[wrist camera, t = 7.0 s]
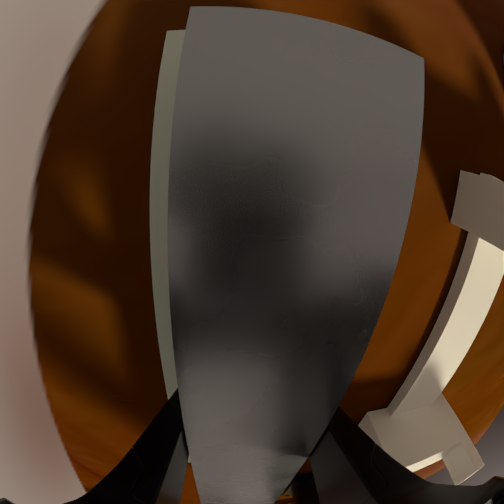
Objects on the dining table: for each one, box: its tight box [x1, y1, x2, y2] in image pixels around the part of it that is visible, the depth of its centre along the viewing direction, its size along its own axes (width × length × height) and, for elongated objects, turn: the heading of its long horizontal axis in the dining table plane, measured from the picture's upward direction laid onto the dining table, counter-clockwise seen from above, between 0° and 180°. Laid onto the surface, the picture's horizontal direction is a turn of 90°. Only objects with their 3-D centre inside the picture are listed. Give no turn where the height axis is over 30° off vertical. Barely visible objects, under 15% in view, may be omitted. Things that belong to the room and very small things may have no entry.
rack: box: [358, 170, 504, 485], centre depth 8 cm, size 18×7×8 cm, turn 174°
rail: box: [167, 6, 424, 504], centre depth 8 cm, size 20×4×4 cm, turn 174°
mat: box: [150, 30, 191, 463], centre depth 11 cm, size 23×7×1 cm, turn 174°
